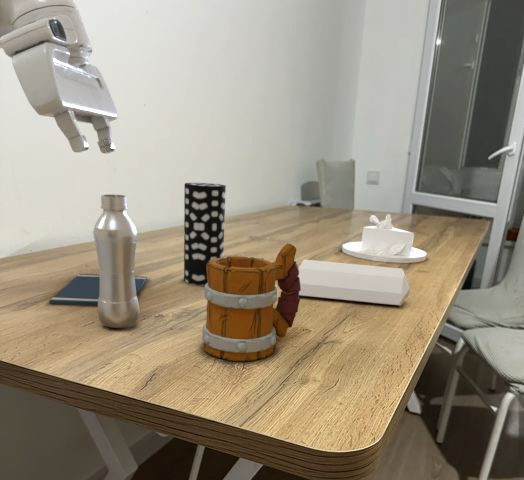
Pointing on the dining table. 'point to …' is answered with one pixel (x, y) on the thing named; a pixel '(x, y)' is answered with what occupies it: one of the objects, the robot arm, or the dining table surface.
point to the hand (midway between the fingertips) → (96, 151)
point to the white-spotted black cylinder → (202, 229)
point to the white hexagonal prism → (353, 282)
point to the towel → (86, 290)
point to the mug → (249, 304)
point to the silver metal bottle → (116, 263)
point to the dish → (385, 244)
